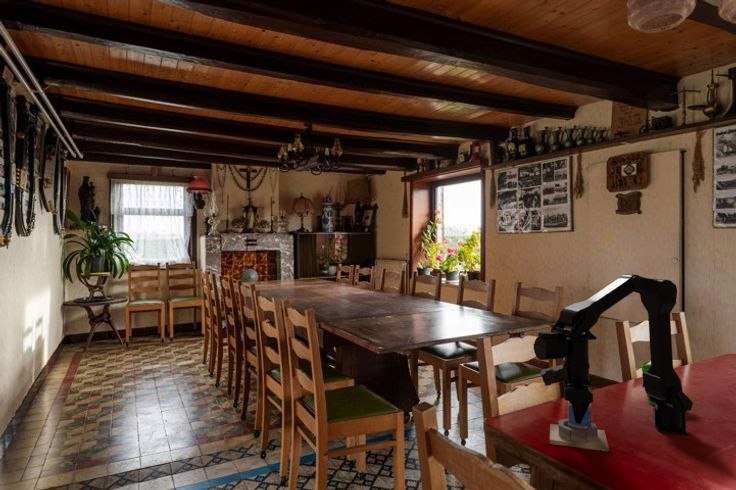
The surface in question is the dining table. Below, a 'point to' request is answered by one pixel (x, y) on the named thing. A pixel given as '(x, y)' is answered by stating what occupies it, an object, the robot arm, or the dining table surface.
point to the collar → (578, 436)
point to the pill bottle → (585, 421)
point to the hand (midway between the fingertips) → (577, 419)
